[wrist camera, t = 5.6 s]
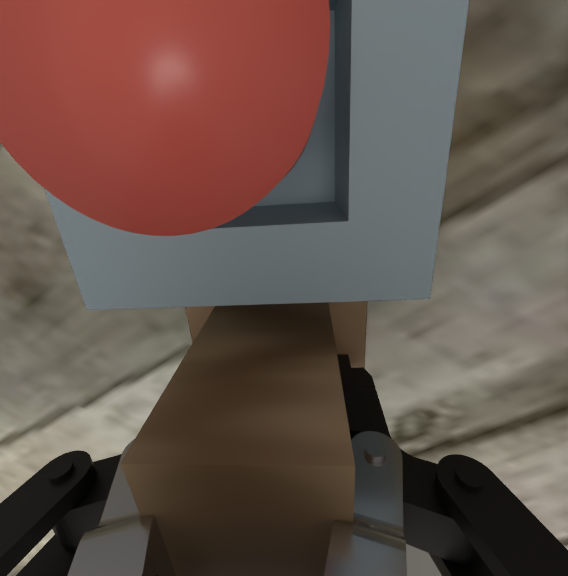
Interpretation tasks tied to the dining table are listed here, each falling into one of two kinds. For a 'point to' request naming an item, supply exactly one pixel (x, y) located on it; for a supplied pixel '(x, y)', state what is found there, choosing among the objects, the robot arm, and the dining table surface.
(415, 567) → the flask
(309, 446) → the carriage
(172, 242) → the button housing
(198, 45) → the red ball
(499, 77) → the dining table surface
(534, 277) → the dining table surface
